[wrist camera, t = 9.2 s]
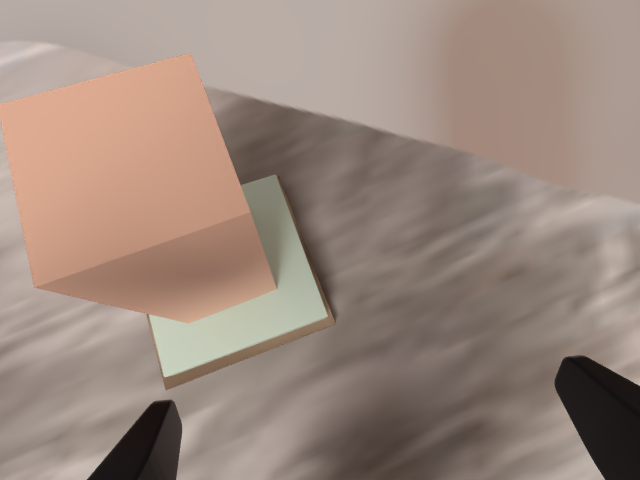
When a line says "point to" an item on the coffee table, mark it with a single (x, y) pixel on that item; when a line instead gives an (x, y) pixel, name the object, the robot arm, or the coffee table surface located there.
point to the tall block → (134, 195)
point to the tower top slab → (258, 313)
